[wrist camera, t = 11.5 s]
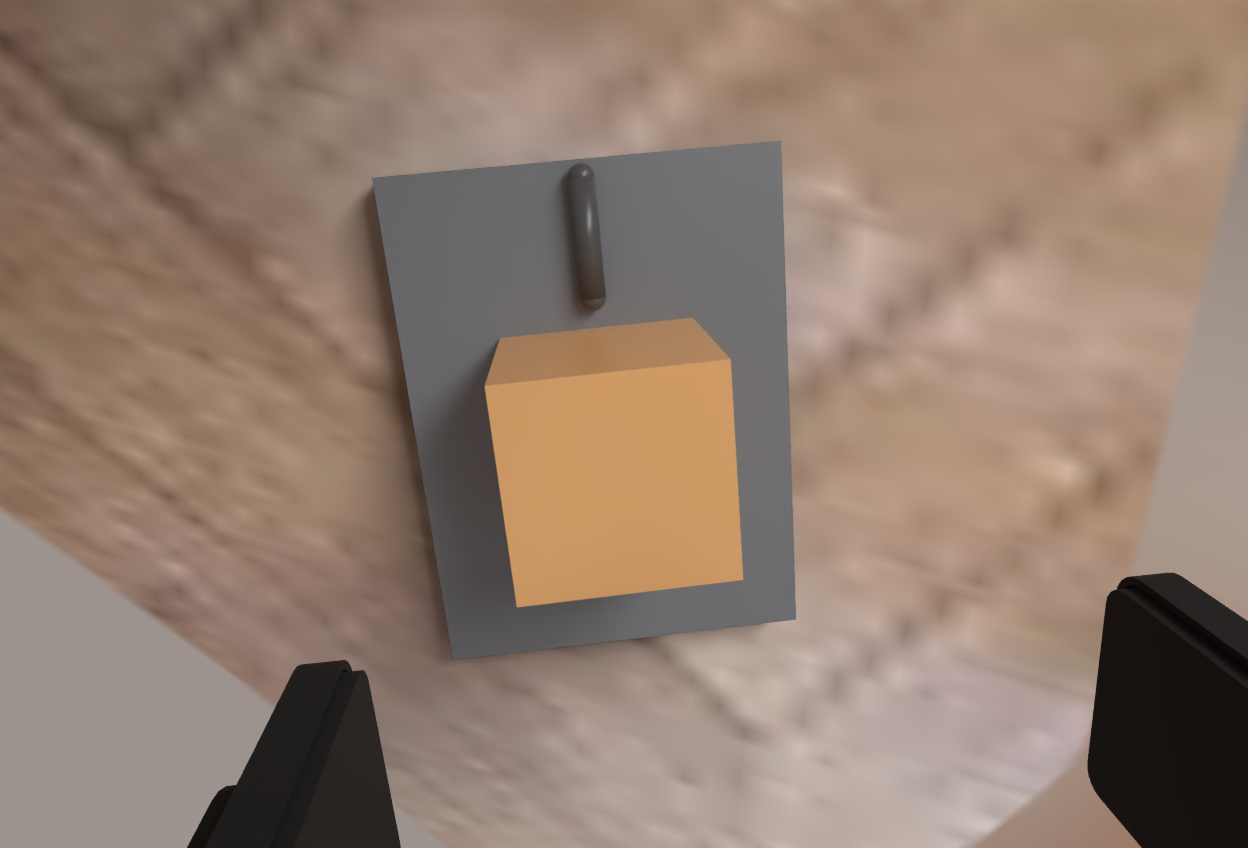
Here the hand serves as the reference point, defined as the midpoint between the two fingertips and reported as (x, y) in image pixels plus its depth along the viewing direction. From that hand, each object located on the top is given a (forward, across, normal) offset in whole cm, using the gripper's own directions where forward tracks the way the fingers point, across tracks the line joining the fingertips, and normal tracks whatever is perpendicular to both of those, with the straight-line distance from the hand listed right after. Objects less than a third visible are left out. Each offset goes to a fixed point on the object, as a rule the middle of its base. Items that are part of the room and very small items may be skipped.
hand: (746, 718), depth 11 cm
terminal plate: (+19, +1, +1) cm, 19 cm away
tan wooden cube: (+17, +1, +1) cm, 17 cm away
